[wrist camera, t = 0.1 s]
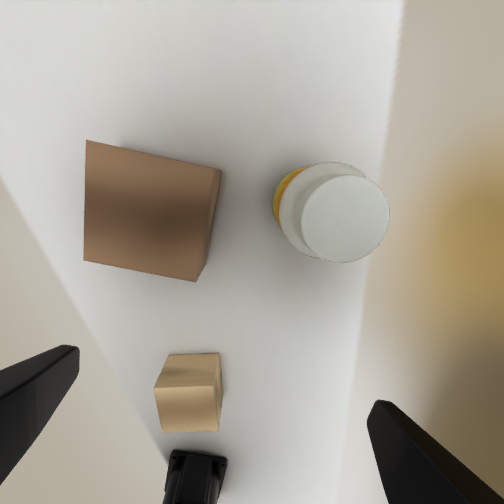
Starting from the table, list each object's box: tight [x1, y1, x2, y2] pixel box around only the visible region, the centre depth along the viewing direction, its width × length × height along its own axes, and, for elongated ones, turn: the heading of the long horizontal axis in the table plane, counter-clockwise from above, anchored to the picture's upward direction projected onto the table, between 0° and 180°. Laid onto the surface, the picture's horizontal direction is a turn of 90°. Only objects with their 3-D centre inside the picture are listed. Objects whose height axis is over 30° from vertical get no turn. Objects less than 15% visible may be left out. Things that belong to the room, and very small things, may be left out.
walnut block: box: [83, 140, 222, 282], centre depth 18 cm, size 8×8×4 cm
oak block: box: [153, 353, 223, 433], centre depth 23 cm, size 5×5×4 cm
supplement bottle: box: [272, 162, 390, 263], centre depth 15 cm, size 5×5×10 cm
